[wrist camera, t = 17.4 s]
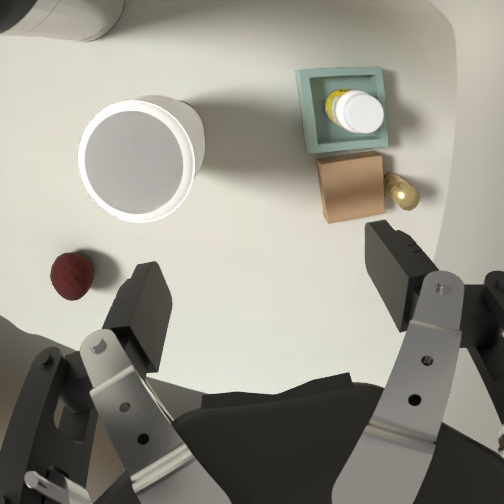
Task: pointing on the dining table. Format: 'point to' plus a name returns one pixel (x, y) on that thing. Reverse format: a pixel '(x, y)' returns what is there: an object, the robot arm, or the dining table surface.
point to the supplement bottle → (353, 110)
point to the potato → (72, 275)
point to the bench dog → (401, 191)
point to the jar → (141, 157)
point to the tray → (315, 120)
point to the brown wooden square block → (351, 186)
